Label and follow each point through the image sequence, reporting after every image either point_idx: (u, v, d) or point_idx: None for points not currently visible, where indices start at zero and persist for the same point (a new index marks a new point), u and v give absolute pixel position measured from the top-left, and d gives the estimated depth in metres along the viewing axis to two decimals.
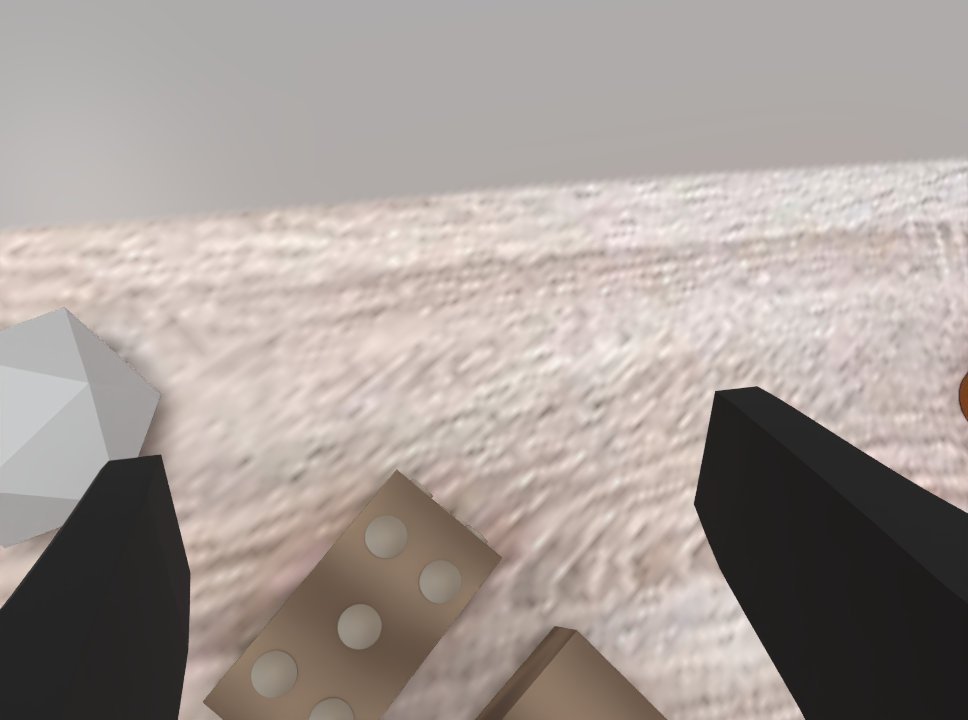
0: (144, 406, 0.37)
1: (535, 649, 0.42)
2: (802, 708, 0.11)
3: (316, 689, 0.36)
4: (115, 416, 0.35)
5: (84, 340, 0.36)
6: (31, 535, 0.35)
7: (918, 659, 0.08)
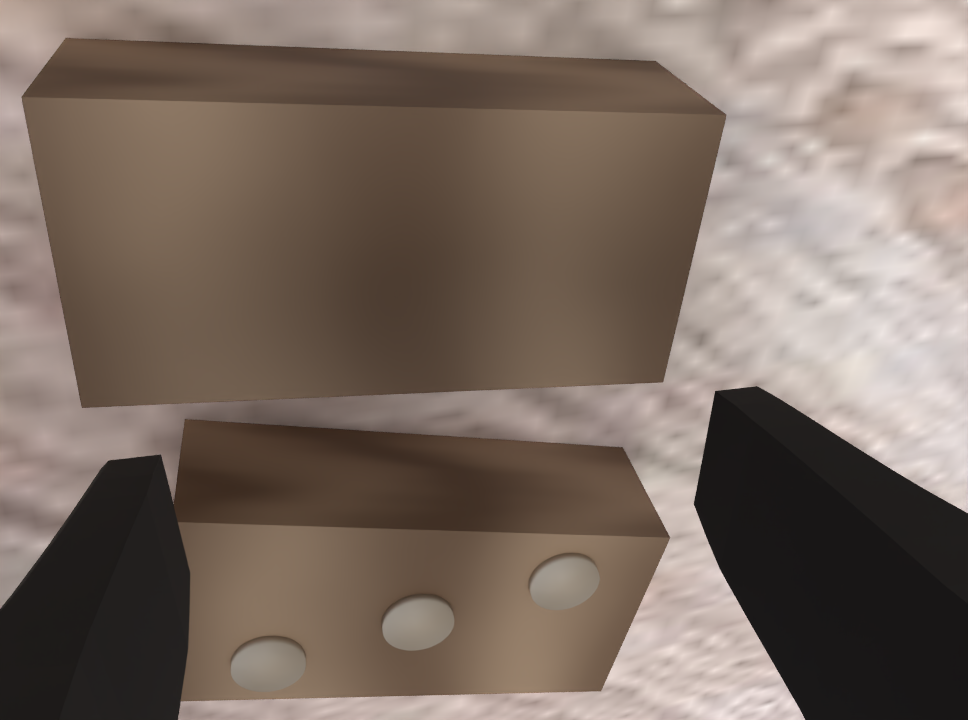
0: None
1: (594, 59, 0.19)
2: (802, 707, 0.11)
3: None
4: None
5: None
6: None
7: (918, 659, 0.08)
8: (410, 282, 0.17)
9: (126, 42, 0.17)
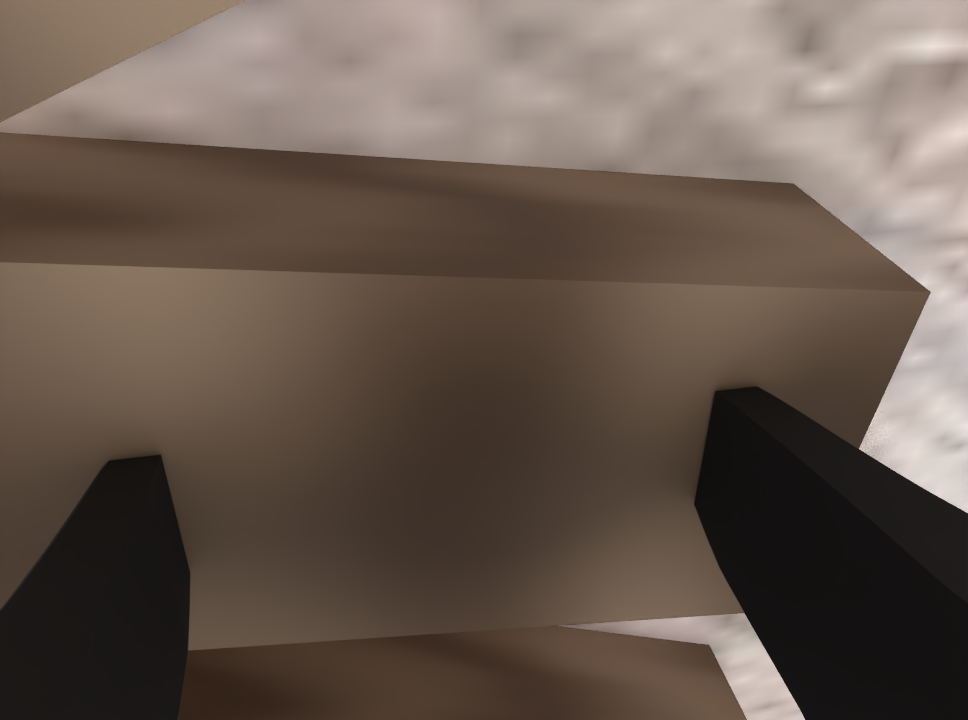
0: None
1: (715, 179, 0.14)
2: (802, 708, 0.11)
3: None
4: None
5: None
6: None
7: (918, 659, 0.08)
8: (466, 502, 0.12)
9: (73, 141, 0.12)
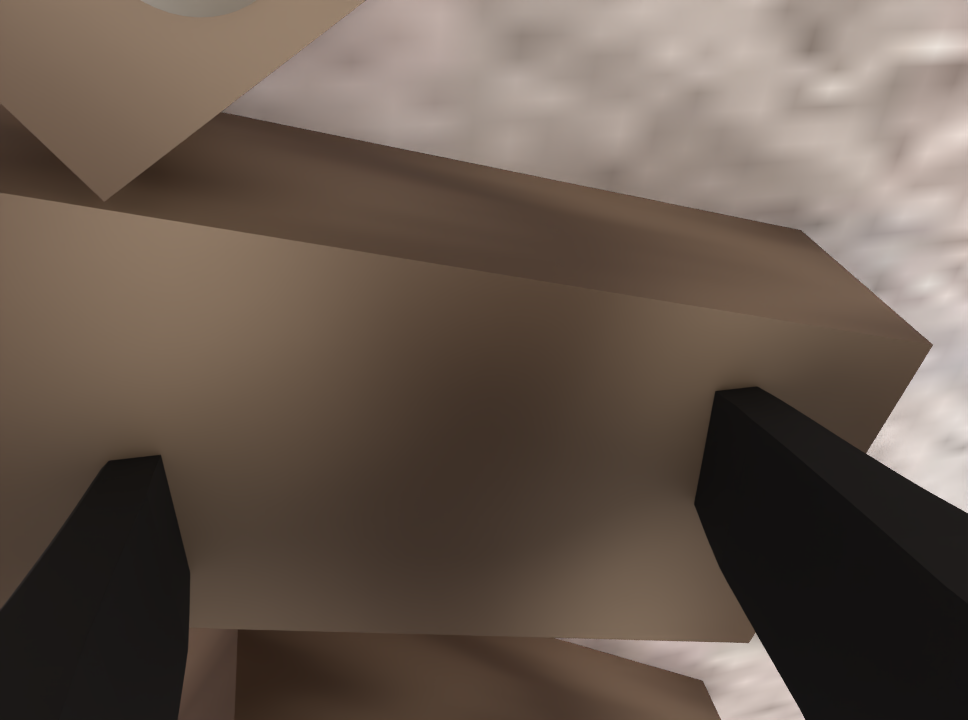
0: None
1: None
2: (803, 707, 0.11)
3: None
4: None
5: None
6: None
7: (918, 659, 0.08)
8: (465, 502, 0.12)
9: None
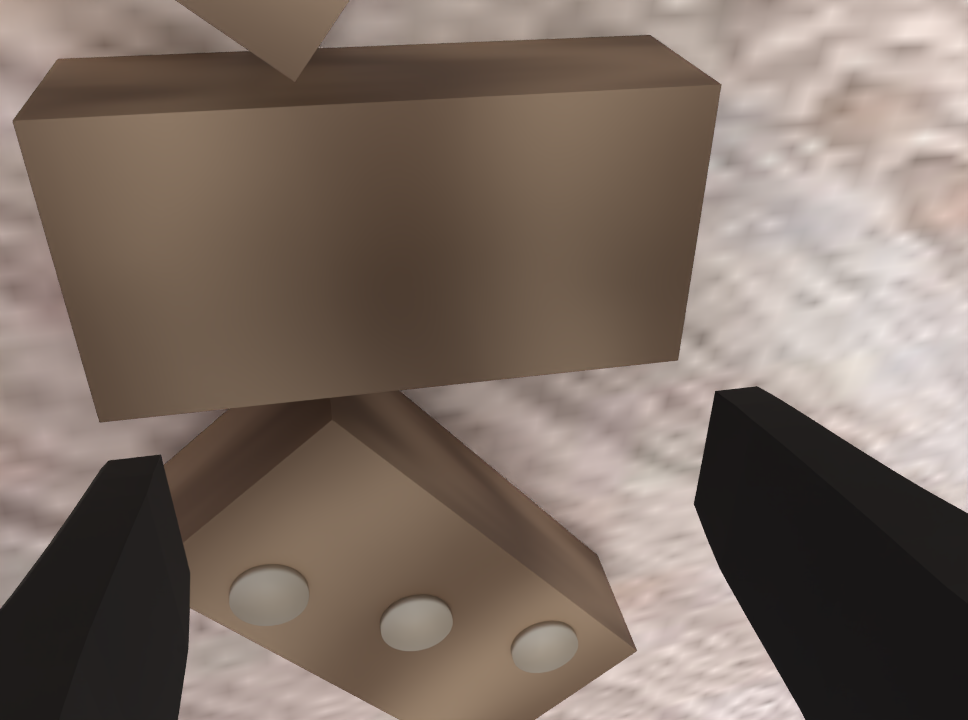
0: None
1: None
2: (803, 707, 0.11)
3: None
4: None
5: None
6: None
7: (918, 659, 0.08)
8: (412, 277, 0.17)
9: (117, 58, 0.17)
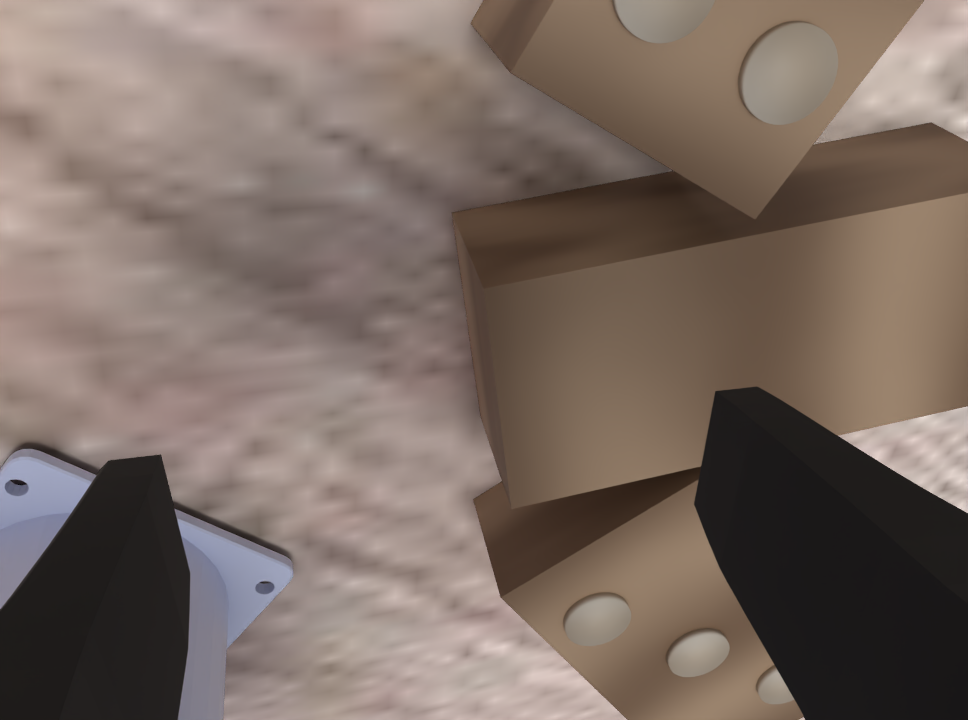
0: None
1: (878, 133, 0.21)
2: (803, 707, 0.11)
3: (755, 6, 0.15)
4: None
5: None
6: None
7: (918, 659, 0.08)
8: (769, 365, 0.20)
9: (499, 206, 0.20)
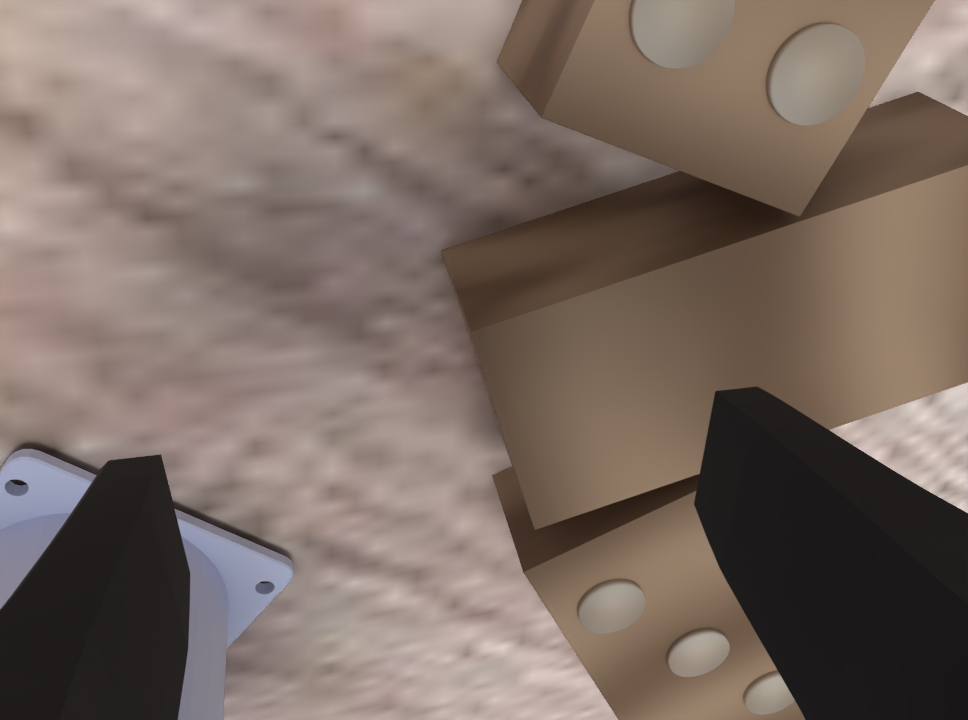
0: None
1: None
2: (803, 707, 0.11)
3: (775, 17, 0.16)
4: None
5: None
6: None
7: (918, 659, 0.08)
8: (772, 363, 0.20)
9: (487, 238, 0.21)
